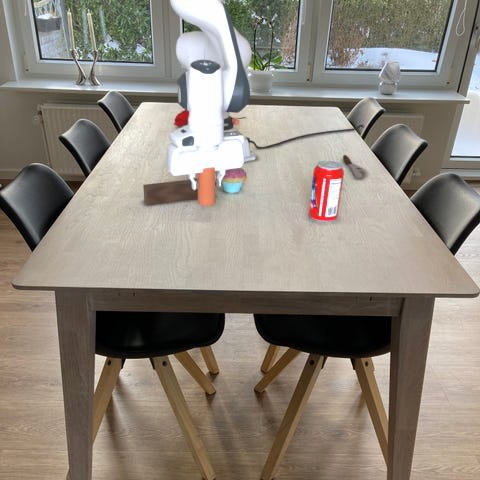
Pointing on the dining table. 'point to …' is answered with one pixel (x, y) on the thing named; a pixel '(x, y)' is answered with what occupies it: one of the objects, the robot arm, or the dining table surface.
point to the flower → (184, 118)
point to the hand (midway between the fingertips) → (206, 187)
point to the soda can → (326, 191)
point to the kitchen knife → (354, 168)
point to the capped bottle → (207, 187)
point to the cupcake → (233, 179)
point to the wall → (169, 192)
